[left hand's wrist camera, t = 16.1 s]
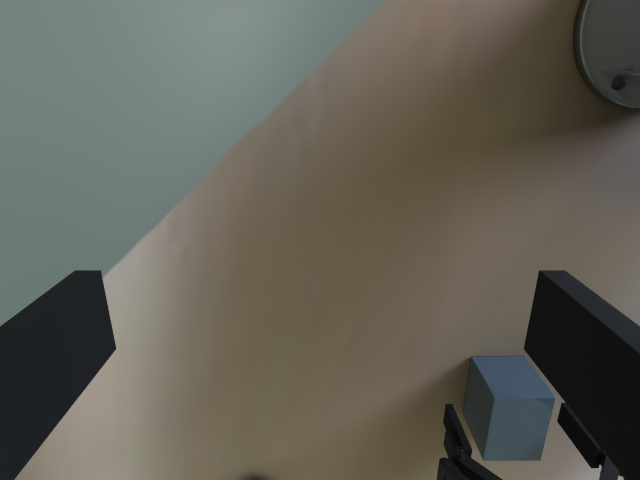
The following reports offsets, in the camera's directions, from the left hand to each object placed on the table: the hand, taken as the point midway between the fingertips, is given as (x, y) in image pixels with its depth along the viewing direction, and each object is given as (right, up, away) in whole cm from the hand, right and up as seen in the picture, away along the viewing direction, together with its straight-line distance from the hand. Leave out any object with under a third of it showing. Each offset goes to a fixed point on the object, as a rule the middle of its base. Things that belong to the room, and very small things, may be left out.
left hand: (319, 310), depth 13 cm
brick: (+22, -17, +41) cm, 49 cm away
